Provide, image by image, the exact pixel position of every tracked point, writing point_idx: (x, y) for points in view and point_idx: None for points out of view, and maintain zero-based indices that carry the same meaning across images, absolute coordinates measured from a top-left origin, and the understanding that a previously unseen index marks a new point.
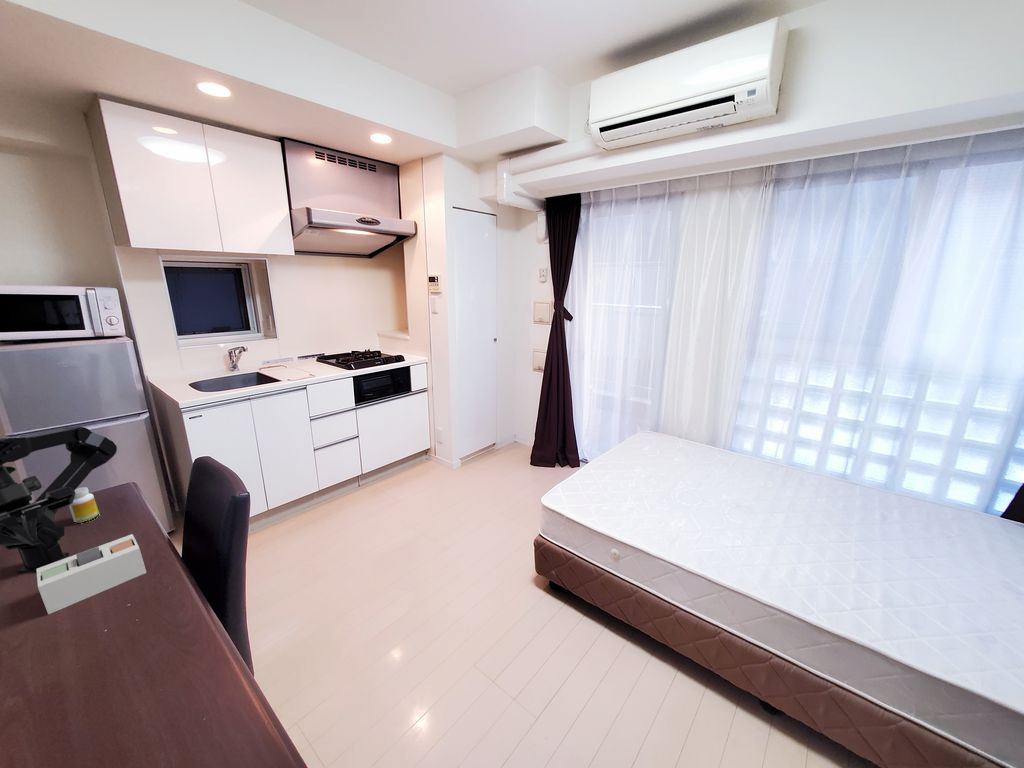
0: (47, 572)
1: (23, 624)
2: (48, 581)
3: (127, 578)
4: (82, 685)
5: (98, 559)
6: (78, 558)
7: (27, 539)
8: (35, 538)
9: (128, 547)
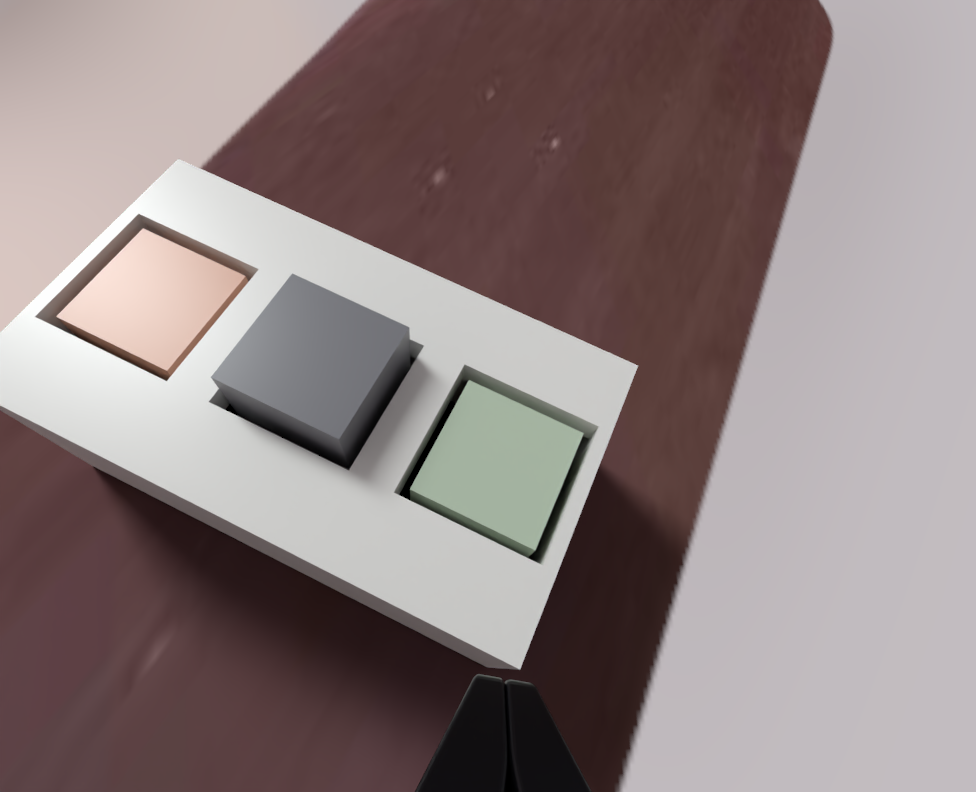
0: (518, 511)
1: (654, 489)
2: (583, 363)
3: None
4: (693, 42)
5: None
6: (381, 358)
7: (571, 754)
8: (482, 706)
9: (165, 243)
